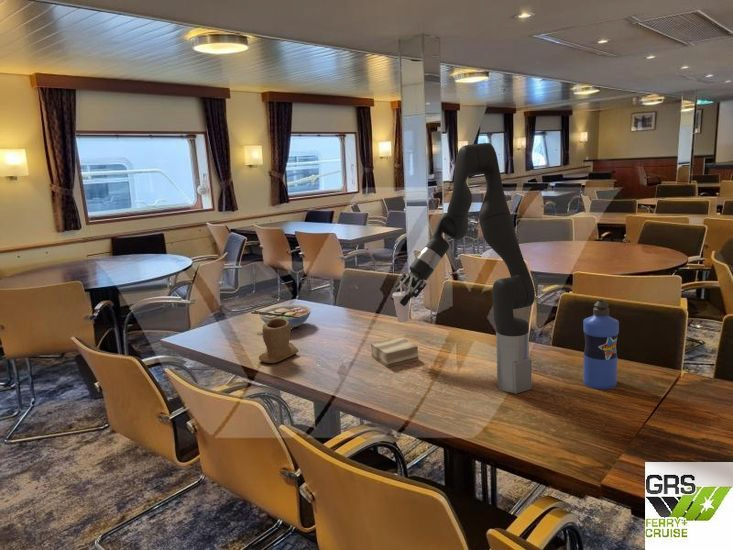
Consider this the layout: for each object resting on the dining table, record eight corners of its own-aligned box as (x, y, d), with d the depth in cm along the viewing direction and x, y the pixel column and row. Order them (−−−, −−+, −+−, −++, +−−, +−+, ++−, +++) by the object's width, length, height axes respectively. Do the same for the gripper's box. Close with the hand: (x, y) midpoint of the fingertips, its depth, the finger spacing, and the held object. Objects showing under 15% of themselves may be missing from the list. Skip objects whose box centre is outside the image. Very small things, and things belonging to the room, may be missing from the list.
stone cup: (276, 368, 188) (271, 327, 185) (254, 362, 196) (249, 322, 193) (307, 354, 200) (303, 315, 196) (285, 349, 207) (281, 311, 204)
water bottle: (575, 380, 161) (576, 300, 156) (600, 374, 164) (601, 295, 159) (599, 392, 152) (600, 307, 147) (624, 385, 156) (627, 302, 150)
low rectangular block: (418, 359, 186) (417, 346, 185) (387, 367, 181) (386, 353, 180) (401, 349, 197) (400, 336, 196) (371, 357, 192) (370, 343, 191)
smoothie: (412, 317, 190) (410, 278, 187) (412, 323, 183) (409, 283, 180) (394, 318, 190) (391, 279, 187) (393, 323, 184) (390, 284, 181)
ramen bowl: (325, 322, 237) (324, 304, 235) (292, 339, 218) (290, 319, 217) (282, 317, 250) (280, 300, 249) (247, 332, 232) (245, 314, 230)
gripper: (408, 254, 192) (380, 292, 190) (429, 260, 179) (399, 300, 177) (422, 266, 195) (395, 304, 193) (443, 273, 182) (414, 313, 180)
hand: (397, 302), depth 185 cm, fingers closed on smoothie, 6 cm apart
